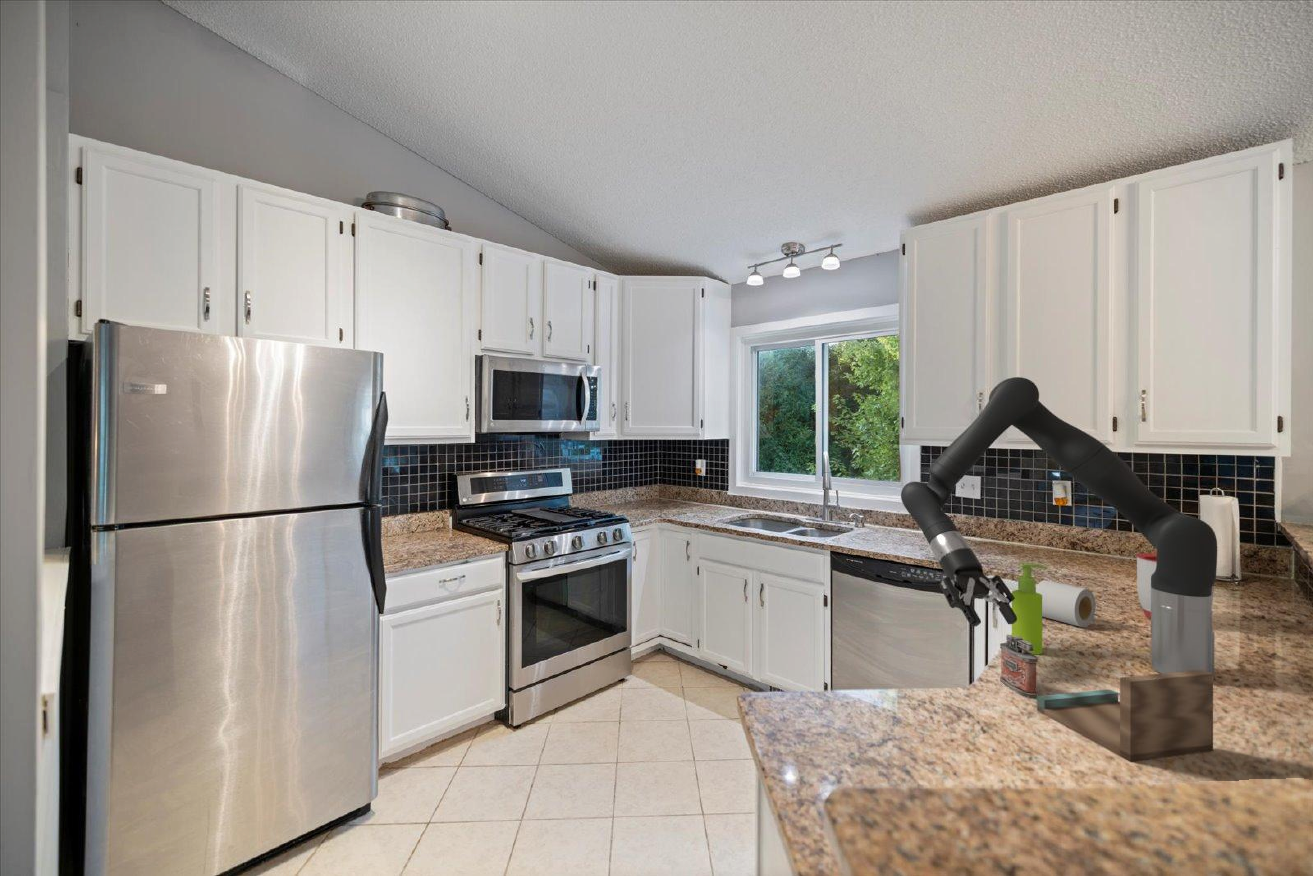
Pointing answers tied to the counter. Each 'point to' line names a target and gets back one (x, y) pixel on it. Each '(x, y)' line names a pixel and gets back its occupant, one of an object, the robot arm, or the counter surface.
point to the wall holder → (1142, 715)
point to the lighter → (1018, 666)
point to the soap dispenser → (1028, 609)
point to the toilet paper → (1067, 603)
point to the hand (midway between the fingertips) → (995, 623)
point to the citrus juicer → (1146, 579)
